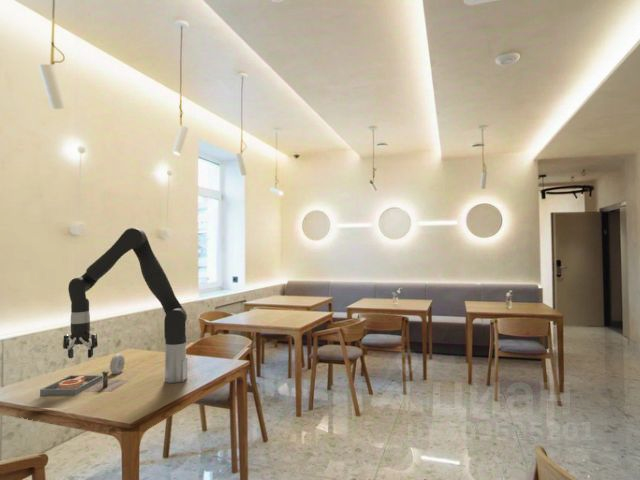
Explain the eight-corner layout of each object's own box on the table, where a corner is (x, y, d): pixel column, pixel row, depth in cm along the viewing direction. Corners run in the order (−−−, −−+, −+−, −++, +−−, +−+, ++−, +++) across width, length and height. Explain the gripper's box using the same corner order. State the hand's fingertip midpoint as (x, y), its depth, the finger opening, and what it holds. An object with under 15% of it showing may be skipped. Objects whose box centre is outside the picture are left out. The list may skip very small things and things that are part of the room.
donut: (115, 377, 195) (115, 356, 195) (108, 377, 195) (108, 356, 195) (126, 371, 205) (126, 351, 205) (119, 371, 205) (119, 351, 205)
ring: (91, 382, 185) (91, 376, 185) (74, 392, 172) (74, 385, 172) (73, 382, 185) (73, 376, 185) (54, 392, 172) (54, 385, 172)
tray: (102, 381, 188) (102, 375, 188) (75, 396, 168) (76, 389, 168) (70, 381, 188) (70, 375, 188) (39, 396, 168) (40, 389, 168)
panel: (129, 382, 187) (130, 365, 188) (111, 393, 171) (111, 375, 172) (104, 382, 188) (104, 365, 188) (83, 393, 172) (83, 376, 172)
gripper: (100, 319, 188) (100, 355, 187) (70, 320, 188) (70, 356, 187) (91, 322, 180) (91, 359, 180) (59, 323, 180) (59, 360, 180)
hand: (80, 357), depth 184 cm, fingers open, 8 cm apart
